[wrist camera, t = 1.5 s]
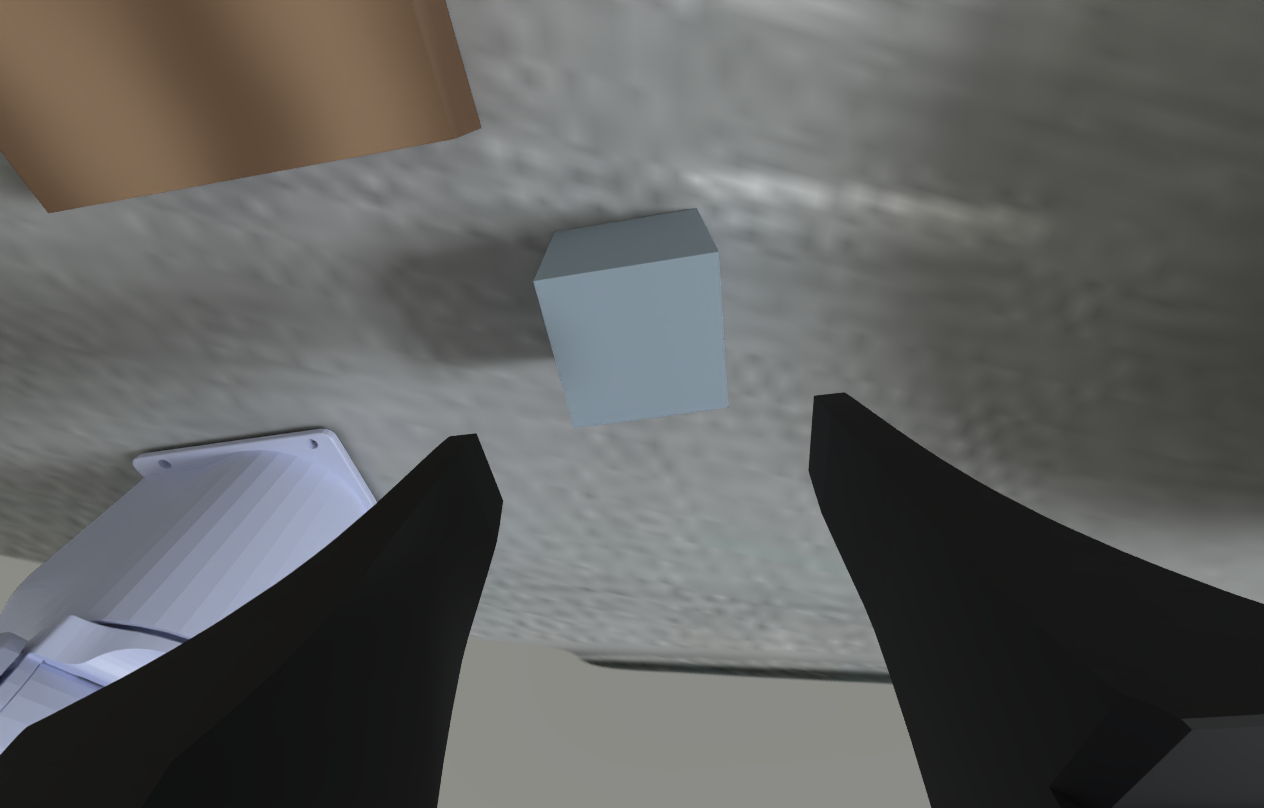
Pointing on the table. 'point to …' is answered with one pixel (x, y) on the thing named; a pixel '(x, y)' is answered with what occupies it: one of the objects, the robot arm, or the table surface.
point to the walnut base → (217, 89)
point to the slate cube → (635, 318)
